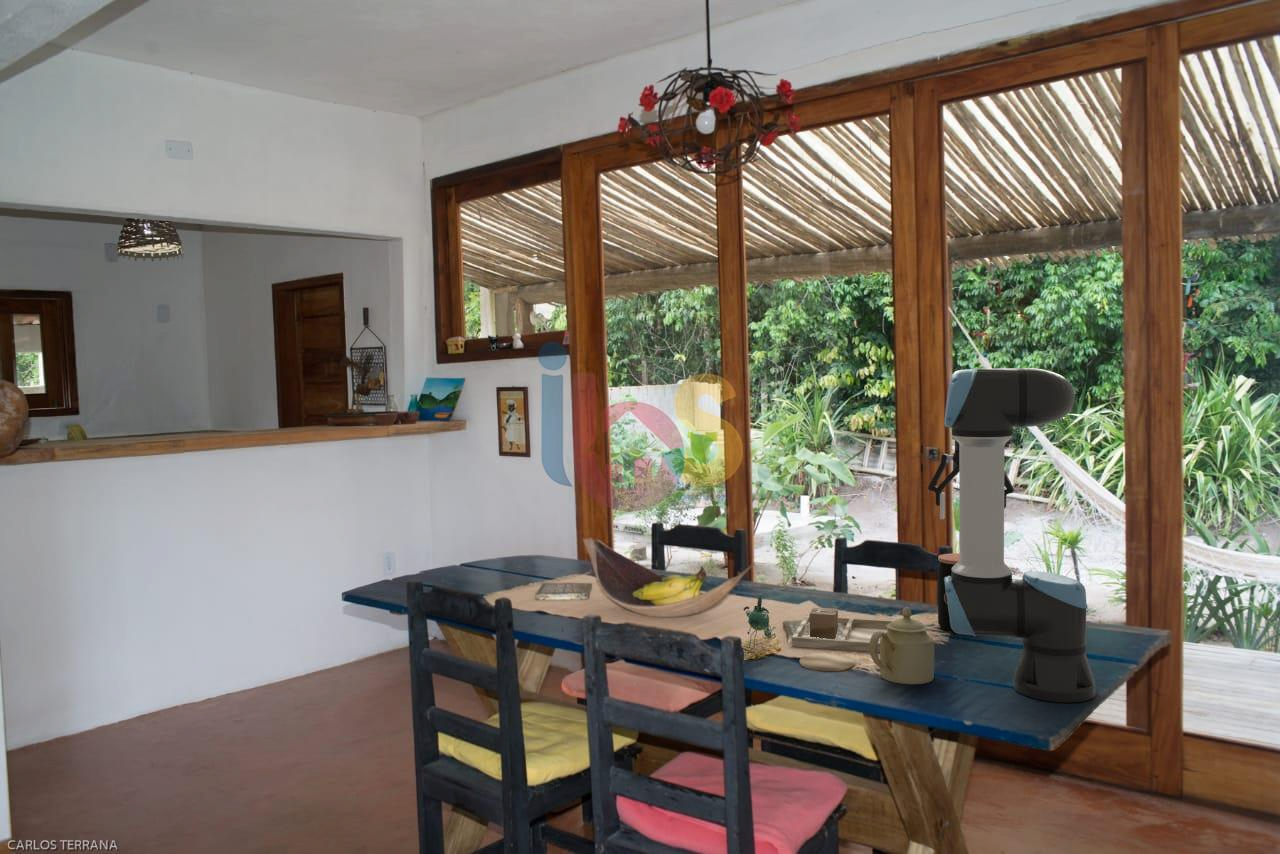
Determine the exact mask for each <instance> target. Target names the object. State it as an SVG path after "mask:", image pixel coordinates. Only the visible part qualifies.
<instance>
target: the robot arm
mask: <svg viewBox="0 0 1280 854" xmlns="http://www.w3.org/2000/svg"><path fill="white" fill-rule="evenodd" d="M949 378H950V379H949V384H948V389H947V390H948V391H947V396H946V397H947V398H946V402H945V403H946V404H945V414H944V422H943V424H944V427H945V428H950V429H951V438H953V439H954V454H953V455H950V454H948V453H943V454H942V455H941V458H940V464H939V466H938V467H937V469H936V471H935V473H934V475H933V477H932V479H931V481H930V482H929V485H928V486H927V489H928V490H929V491H932V492H933V493H935V505H936V506H937V507H938V506H939V519H940V520H945V518H946V492H942V491H944V489H946V488H947V486H948V485H949V484H950V483H951V482H952V481H953V479H954V478H955V477H956V476H957V475H958V474H959V476H958V477H959V481H958V482H959V488H958V489H959V491H958V493H959V494H958V495H959V499H958V500H959V504H958V506H959V507H958V508H959V510H958V512H959V516H958V517H959V521H958V524H959V525H958V526H959V530H958V531H959V533H958V534H959V535H958V541H959V543H958V546H959V561H958V562H957V563H956V564H955V565H954V566H953V567H952V576H948V577H945V578H944V581H945V589H946V595H947V603H948V610H949V617H950V625H951V628H952V630H953V631H954V632H956V633H955V634H957V635H968V636H973V637H977V636H978V637H979V636H980V637H994V638H995V637H996V638H997V637H998V638H999V637H1000V638H1016V639H1017V638H1018V639H1022V652H1021V655H1020V657H1019V660H1018V662H1017V663H1018V664H1017V666H1016V668H1015V672H1014V674H1013V689H1014V690H1015V691H1016V692H1018V693H1019V694H1021V695H1024V696H1026V697H1029V698H1032V699H1034V700H1041V701H1048V702H1052V703H1053V702H1054V703H1081V702H1082V703H1083V702H1086V701H1090V700H1092V699H1094V698H1096V697H1095V696H1096V682H1095V679H1094V676H1093V672H1092V670H1091V666H1090V663H1089V661H1088V657H1087V609H1088V604H1087V594H1086V593H1087V592H1086V590H1087V589H1086V587H1085V585H1083V583H1082V582H1080V581H1079V580H1076V579H1074V578H1072V577H1068V576H1066V575H1063V574H1058V573H1052V572H1047V571H1039V570H1038V571H1036V570H1035V571H1032V570H1031V571H1030V570H1029V571H1028V570H1027V571H1025V572H1024V573H1023V575H1022V576H1021V578H1020V579H1017V578H1016V579H1015V578H1013V571H1012V569H1011V568H1010V567H1009V566H1008V565H1007V564H1006V563H1005V509H1006V508H1007V495H1010V494H1013V493H1014V492H1015V488H1014V486H1013V484H1012V482H1011V480H1010V478H1009V476H1008V475H1007V473H1006V471H1005V446H1006V443H1008V441H1010V440H1011V439H1012V438H1013V436H1014V428H1027V427H1028V428H1029V427H1031V428H1033V427H1039V426H1043V425H1047V424H1050V423H1054V422H1056V421H1060V419H1063V418H1064V417H1065V416H1067V415H1068V414H1069V413H1070V411H1071V410H1072V408H1073V406H1074V404H1075V396H1076V395H1075V394H1076V393H1075V389H1074V388H1073V386H1072V384H1071V383H1070V381H1069V380H1068V379H1067V378H1066V377H1064V376H1062V375H1061V374H1059V373H1056V372H1053V371H1050V370H1046V369H1041V368H1034V367H1033V368H1032V367H1031V368H1030V367H1025V368H977V367H975V368H968V369H960V370H956V371H954V372H953V373H952V374H951V376H950V377H949ZM951 461H953V463H954V464H955V465H956V466H955V467H954V468H953V469H952V471H951V472H950V473H949V474H948V475H947V476H946V478H945V479H944V480H943V481H942V482H941V483H940V484H939V485H938V482H939V481H940V478H941V476H942V475H943V473H944V471H945V469H946V467H947V464H949V463H951ZM937 485H938V486H937Z"/></svg>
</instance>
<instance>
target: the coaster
mask: <svg viewBox="0 0 1280 854" xmlns="http://www.w3.org/2000/svg"><path fill="white" fill-rule="evenodd" d="M799 664H800V665H801V666H802V667H803V668H806V669H809V670H812V671H813V670H814V671H817V672H841V671H843V672H844V671H849V670H850V669H852V668H855V665H856V663H855V660H854V659H853V658H852V657H849V656H846V655H843V654H838V653H837V654H836V653H830V652H829V653H827V652H826V653H825V652H822V653H821V652H820V653H809V654H807V655H806V654H805V655H803V656H802V657H800V658H799Z"/></svg>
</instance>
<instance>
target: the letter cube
mask: <svg viewBox="0 0 1280 854" xmlns="http://www.w3.org/2000/svg"><path fill="white" fill-rule="evenodd" d="M809 615H810V637H816V638H817V637H819V638H826V639H835V638H836V634H837V631H838V617H839V609H838V608H825V607H813V608H812V609H811V610H810V612H809Z"/></svg>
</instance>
